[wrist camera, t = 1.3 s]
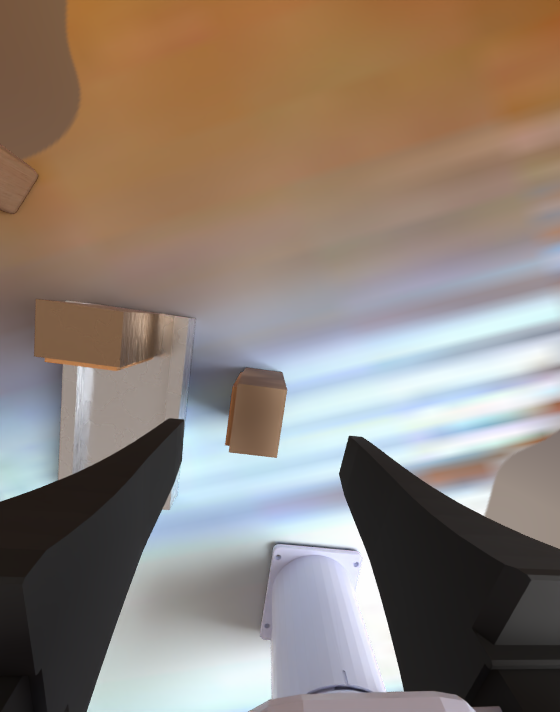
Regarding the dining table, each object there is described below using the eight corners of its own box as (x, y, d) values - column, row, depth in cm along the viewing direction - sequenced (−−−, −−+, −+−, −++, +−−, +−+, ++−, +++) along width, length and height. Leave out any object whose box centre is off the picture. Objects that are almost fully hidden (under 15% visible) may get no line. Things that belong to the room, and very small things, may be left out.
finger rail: (177, 494, 22) (140, 566, 16) (74, 484, 22) (-8, 553, 15) (195, 318, 20) (162, 317, 14) (83, 302, 20) (-6, 293, 13)
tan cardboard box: (282, 372, 21) (287, 389, 16) (274, 423, 22) (276, 457, 16) (241, 366, 21) (232, 382, 16) (235, 418, 22) (223, 451, 16)
